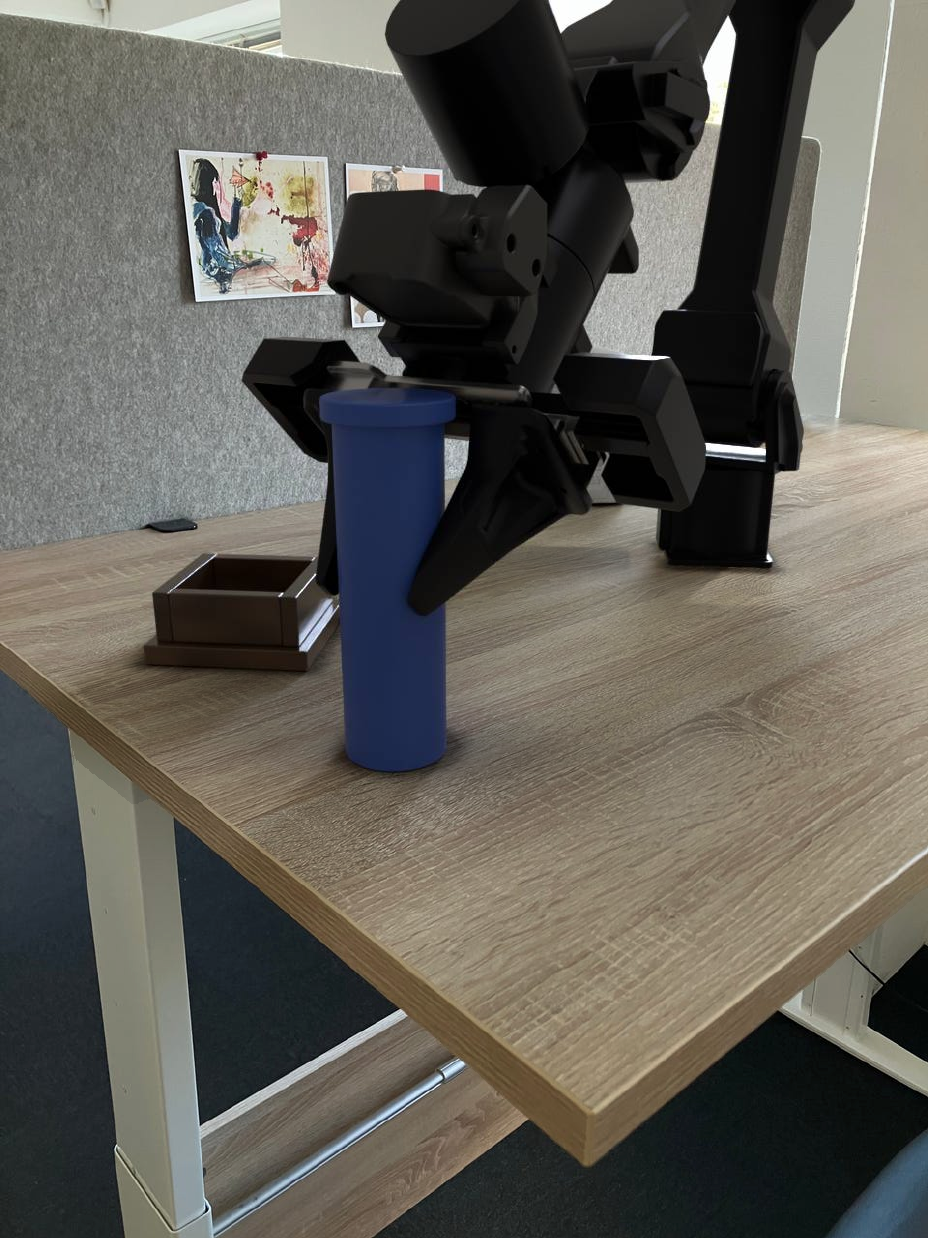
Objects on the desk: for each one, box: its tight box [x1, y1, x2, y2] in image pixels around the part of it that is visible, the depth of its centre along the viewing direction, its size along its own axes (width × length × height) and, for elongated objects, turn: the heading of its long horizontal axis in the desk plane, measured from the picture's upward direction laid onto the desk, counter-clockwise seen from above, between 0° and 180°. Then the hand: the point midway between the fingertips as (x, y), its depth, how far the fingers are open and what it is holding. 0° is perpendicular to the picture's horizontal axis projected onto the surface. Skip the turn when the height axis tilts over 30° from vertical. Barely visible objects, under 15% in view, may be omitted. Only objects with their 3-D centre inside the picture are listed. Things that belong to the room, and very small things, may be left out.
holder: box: [142, 552, 340, 672], centre depth 52 cm, size 8×8×4 cm
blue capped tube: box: [319, 388, 456, 772], centre depth 38 cm, size 5×5×14 cm
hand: (368, 600), depth 37 cm, fingers closed on blue capped tube, 4 cm apart
